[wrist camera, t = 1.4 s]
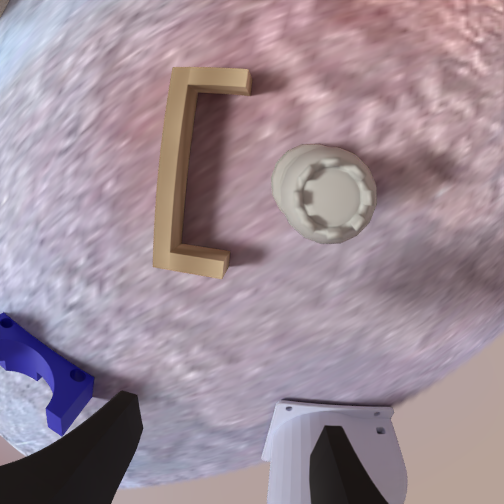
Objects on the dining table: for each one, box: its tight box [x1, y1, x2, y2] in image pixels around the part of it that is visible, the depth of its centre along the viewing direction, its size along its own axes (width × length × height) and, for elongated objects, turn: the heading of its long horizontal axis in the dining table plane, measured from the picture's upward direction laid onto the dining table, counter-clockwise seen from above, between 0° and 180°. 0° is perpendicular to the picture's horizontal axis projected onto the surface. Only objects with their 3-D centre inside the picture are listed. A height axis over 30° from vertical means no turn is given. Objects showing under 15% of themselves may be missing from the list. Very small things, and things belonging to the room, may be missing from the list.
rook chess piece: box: [271, 144, 377, 244], centre depth 13 cm, size 4×4×8 cm
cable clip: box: [0, 312, 94, 436], centre depth 20 cm, size 12×4×6 cm, turn 66°
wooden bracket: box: [153, 67, 252, 279], centre depth 16 cm, size 4×11×2 cm, turn 173°
